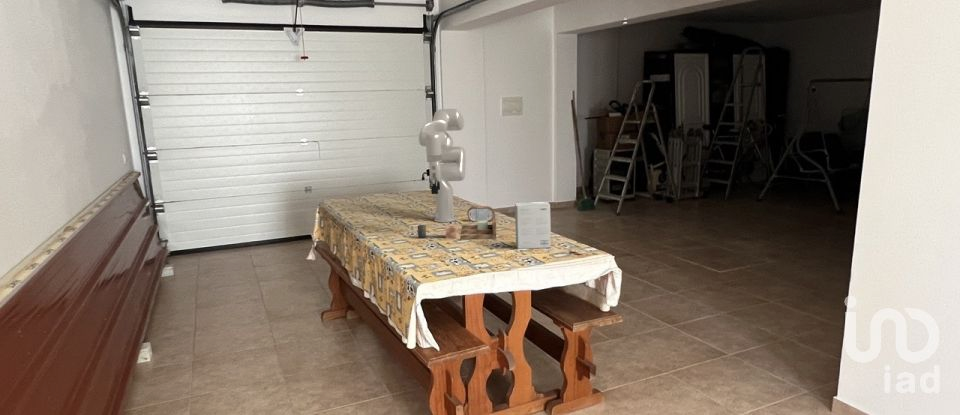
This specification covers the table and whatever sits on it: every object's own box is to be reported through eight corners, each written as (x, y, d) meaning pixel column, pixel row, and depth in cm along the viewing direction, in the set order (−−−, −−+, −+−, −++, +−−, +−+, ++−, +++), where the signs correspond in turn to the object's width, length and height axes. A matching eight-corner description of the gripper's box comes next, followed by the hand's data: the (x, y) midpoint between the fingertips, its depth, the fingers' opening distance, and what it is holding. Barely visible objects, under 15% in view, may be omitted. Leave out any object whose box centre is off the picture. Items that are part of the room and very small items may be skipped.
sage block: (477, 232, 299) (477, 222, 298) (478, 230, 304) (477, 220, 303) (487, 232, 299) (487, 222, 298) (487, 230, 304) (487, 220, 303)
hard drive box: (548, 243, 273) (548, 201, 269) (551, 248, 265) (551, 204, 261) (515, 244, 272) (514, 202, 268) (516, 249, 265) (516, 205, 261)
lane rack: (460, 239, 285) (459, 223, 283) (461, 228, 307) (461, 214, 306) (496, 238, 284) (495, 222, 283) (495, 228, 307) (494, 213, 305)
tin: (494, 220, 326) (494, 205, 324) (494, 221, 322) (494, 206, 321) (467, 220, 327) (467, 206, 325) (467, 222, 324) (466, 207, 322)
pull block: (417, 238, 288) (416, 226, 287) (418, 236, 293) (418, 224, 292) (456, 238, 288) (455, 226, 287) (456, 235, 293) (456, 224, 292)
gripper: (440, 160, 285) (441, 195, 289) (443, 155, 301) (444, 188, 305) (424, 161, 285) (426, 195, 289) (428, 155, 302) (430, 188, 306)
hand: (435, 191), depth 297 cm, fingers open, 9 cm apart
